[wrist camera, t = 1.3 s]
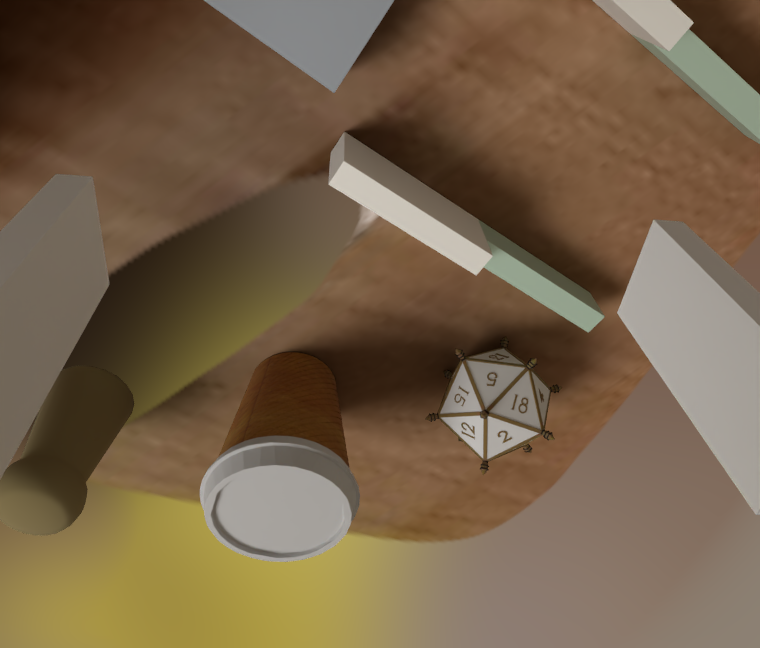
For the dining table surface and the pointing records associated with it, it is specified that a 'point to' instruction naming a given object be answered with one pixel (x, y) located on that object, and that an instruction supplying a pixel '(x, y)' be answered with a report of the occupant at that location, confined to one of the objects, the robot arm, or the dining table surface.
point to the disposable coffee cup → (283, 466)
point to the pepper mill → (64, 450)
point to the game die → (495, 403)
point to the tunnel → (485, 245)
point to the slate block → (310, 31)
